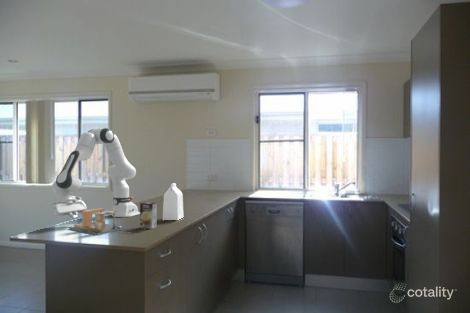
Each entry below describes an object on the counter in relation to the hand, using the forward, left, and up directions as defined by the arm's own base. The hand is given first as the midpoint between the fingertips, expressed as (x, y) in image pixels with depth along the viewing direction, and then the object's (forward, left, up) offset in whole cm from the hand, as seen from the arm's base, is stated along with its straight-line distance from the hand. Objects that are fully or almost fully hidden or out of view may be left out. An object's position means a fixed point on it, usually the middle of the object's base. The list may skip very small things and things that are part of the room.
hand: (75, 218), depth 221 cm
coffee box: (-28, +35, -6) cm, 46 cm away
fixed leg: (-4, +13, -5) cm, 15 cm away
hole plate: (-6, +13, -6) cm, 16 cm away
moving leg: (-4, +12, -4) cm, 13 cm away
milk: (-58, +29, -6) cm, 65 cm away
